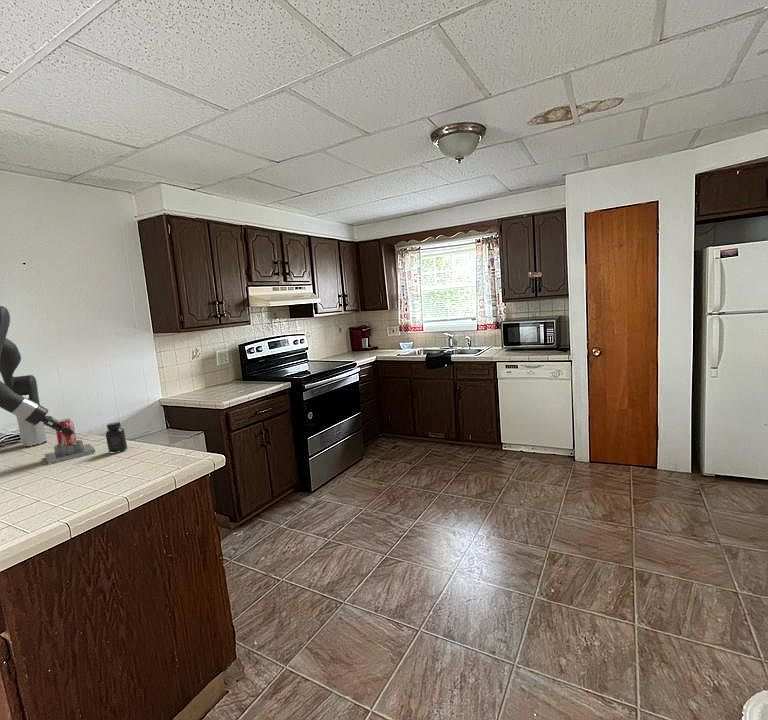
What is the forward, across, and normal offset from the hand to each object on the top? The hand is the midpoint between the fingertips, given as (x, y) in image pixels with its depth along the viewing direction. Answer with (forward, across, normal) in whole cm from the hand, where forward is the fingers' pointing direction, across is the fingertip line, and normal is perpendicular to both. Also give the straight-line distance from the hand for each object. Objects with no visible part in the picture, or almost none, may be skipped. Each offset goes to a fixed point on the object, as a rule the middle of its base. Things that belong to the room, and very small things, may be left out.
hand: (70, 432), depth 183 cm
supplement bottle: (+16, -14, -3) cm, 22 cm away
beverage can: (+3, 0, +6) cm, 7 cm away
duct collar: (+6, 0, +8) cm, 10 cm away
